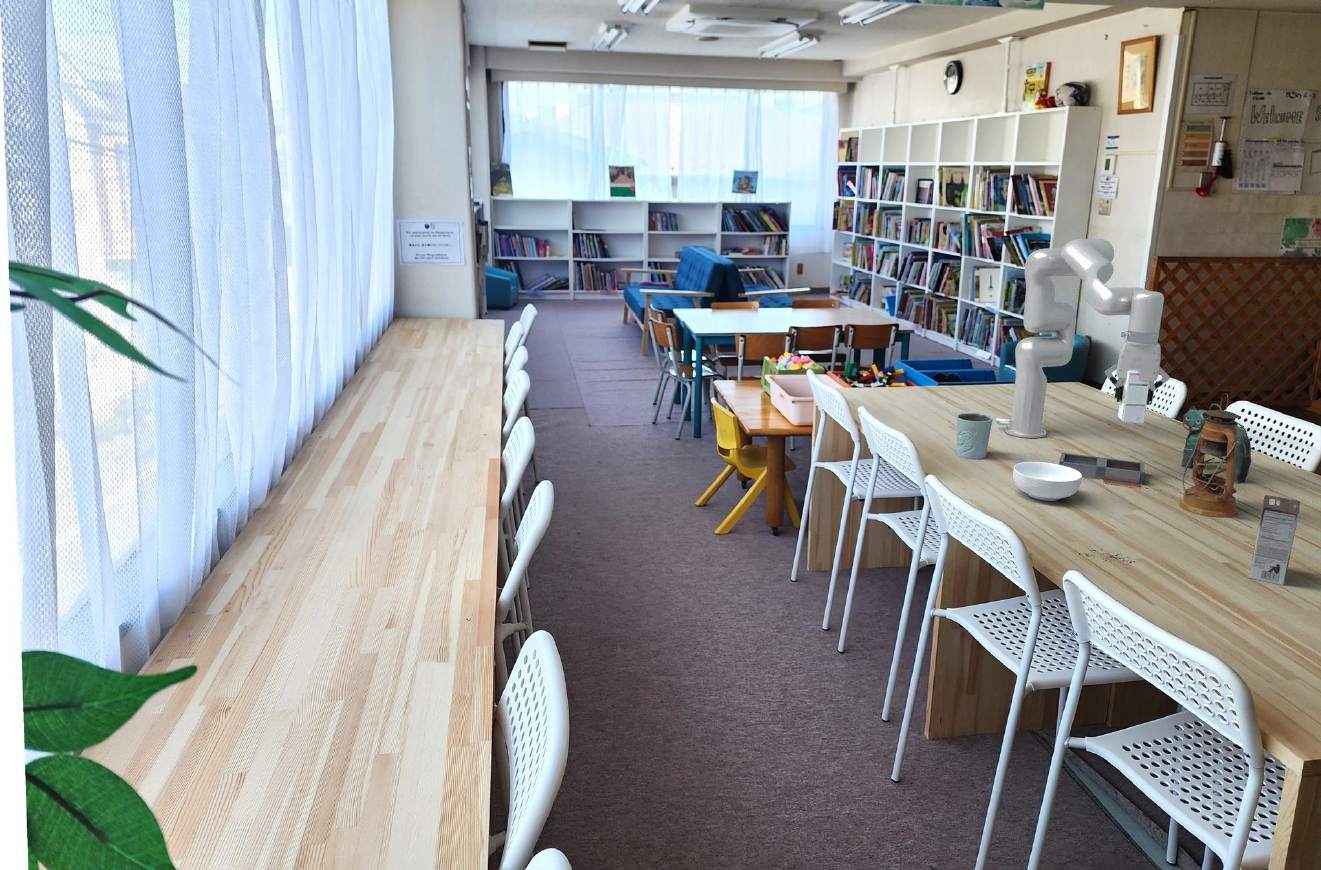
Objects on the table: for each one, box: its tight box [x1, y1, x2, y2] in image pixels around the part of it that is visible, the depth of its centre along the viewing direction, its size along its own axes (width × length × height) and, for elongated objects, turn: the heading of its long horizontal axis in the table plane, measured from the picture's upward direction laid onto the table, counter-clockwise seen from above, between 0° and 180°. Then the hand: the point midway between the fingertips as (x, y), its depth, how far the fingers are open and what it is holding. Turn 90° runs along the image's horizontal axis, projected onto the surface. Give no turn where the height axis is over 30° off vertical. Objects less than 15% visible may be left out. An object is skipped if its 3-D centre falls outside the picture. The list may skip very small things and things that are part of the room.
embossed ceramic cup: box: [955, 412, 993, 460], centre depth 279 cm, size 10×10×12 cm
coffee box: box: [1249, 494, 1301, 586], centre depth 196 cm, size 9×6×16 cm
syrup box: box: [1116, 371, 1150, 424], centre depth 255 cm, size 6×6×14 cm
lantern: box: [1178, 393, 1240, 518], centre depth 233 cm, size 17×13×30 cm
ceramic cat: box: [1181, 403, 1252, 484], centre depth 263 cm, size 20×6×20 cm, turn 22°
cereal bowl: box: [1012, 461, 1083, 502], centre depth 245 cm, size 17×17×7 cm
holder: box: [1058, 452, 1146, 489], centre depth 262 cm, size 22×14×4 cm, turn 64°
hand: (1132, 402), depth 255 cm, fingers closed on syrup box, 6 cm apart
